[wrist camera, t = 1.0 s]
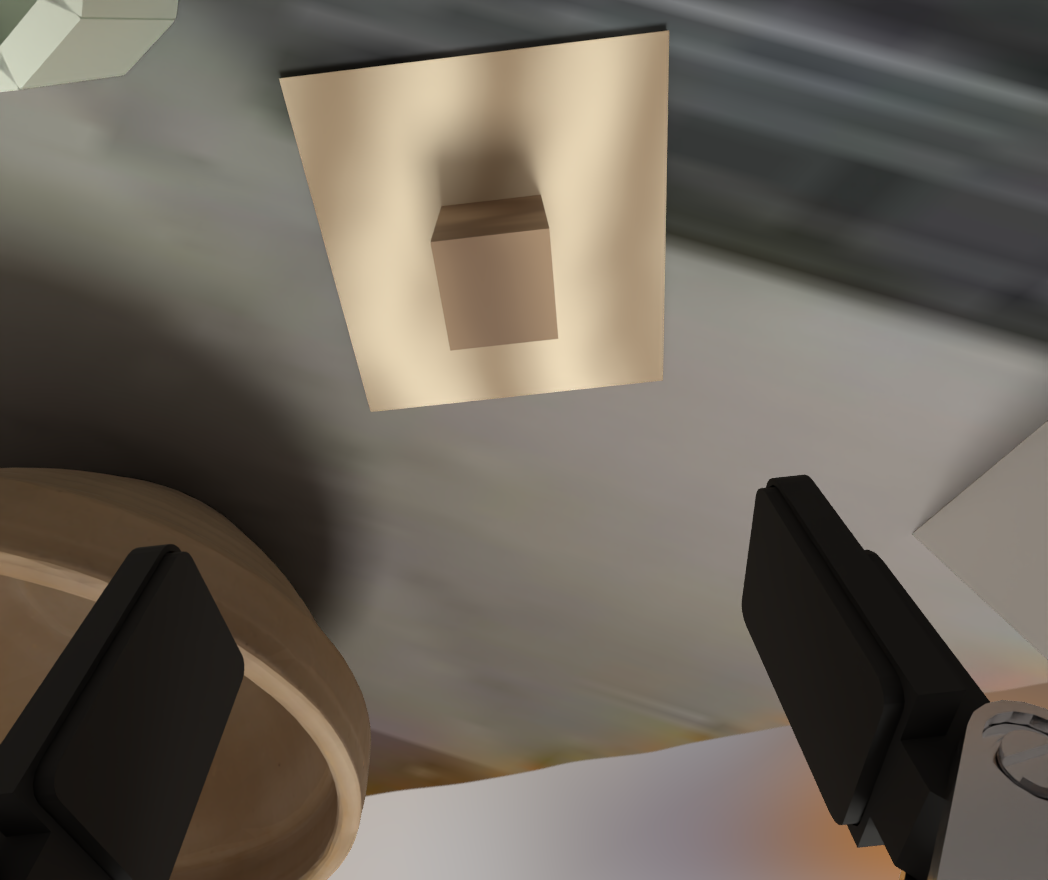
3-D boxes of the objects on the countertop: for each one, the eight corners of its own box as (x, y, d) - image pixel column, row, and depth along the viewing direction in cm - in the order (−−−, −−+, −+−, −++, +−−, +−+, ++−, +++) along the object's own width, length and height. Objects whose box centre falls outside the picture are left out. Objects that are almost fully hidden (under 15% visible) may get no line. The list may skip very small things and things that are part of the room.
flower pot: (297, 290, 28) (164, 468, 16) (449, 690, 43) (433, 919, 32) (-296, 398, 29) (-775, 623, 18) (55, 745, 45) (-89, 980, 34)
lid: (663, 30, 23) (708, 32, 18) (658, 370, 31) (689, 437, 26) (286, 76, 24) (230, 90, 19) (374, 401, 31) (350, 473, 26)
